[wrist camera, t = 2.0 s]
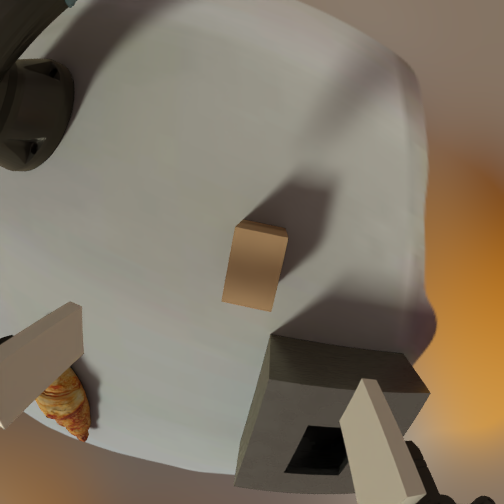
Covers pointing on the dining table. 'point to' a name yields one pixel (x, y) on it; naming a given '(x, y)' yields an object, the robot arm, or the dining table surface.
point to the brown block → (255, 265)
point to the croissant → (67, 404)
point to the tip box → (315, 413)
